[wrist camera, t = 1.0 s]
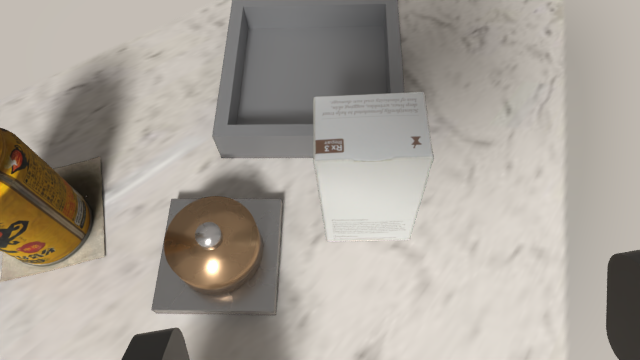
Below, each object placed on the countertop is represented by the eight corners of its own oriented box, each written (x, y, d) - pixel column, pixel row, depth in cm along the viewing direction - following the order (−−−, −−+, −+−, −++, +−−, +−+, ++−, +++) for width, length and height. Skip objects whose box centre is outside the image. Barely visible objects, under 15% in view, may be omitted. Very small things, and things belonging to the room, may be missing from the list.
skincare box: (404, 188, 36) (430, 83, 26) (410, 245, 34) (441, 157, 24) (321, 190, 37) (312, 87, 26) (322, 247, 34) (312, 161, 24)
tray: (221, 158, 38) (212, 136, 35) (239, 25, 45) (232, -2, 42) (402, 157, 38) (407, 135, 35) (393, 22, 44) (397, -5, 41)
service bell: (156, 313, 33) (132, 296, 29) (175, 204, 37) (156, 177, 33) (275, 314, 32) (266, 298, 29) (282, 204, 36) (275, 177, 32)
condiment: (1, 283, 34) (-152, 213, 24) (8, 179, 38) (-120, 80, 28) (106, 258, 35) (2, 179, 24) (102, 158, 39) (11, 53, 28)
